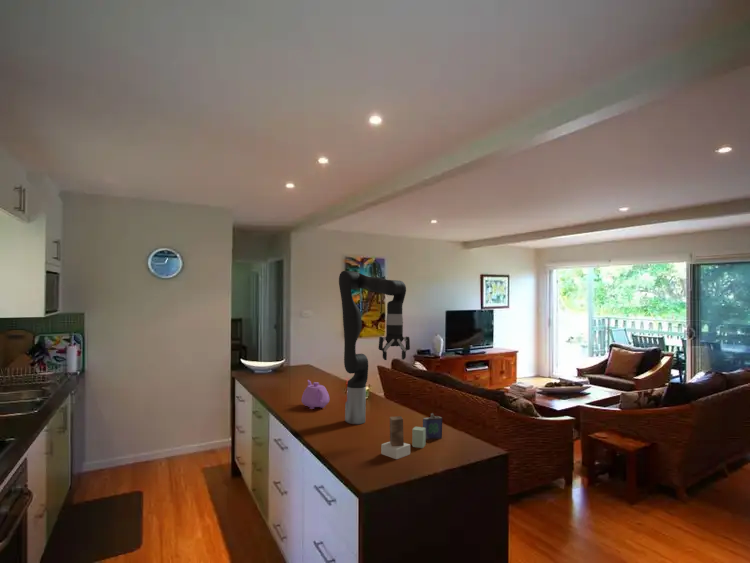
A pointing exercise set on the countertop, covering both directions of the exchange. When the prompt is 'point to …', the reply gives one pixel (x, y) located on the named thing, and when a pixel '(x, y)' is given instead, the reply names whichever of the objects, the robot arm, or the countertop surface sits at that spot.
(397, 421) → the walnut pillar
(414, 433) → the sage block
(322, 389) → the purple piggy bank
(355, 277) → the robot arm
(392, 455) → the base block
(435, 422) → the flask
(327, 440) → the countertop surface
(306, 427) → the countertop surface
